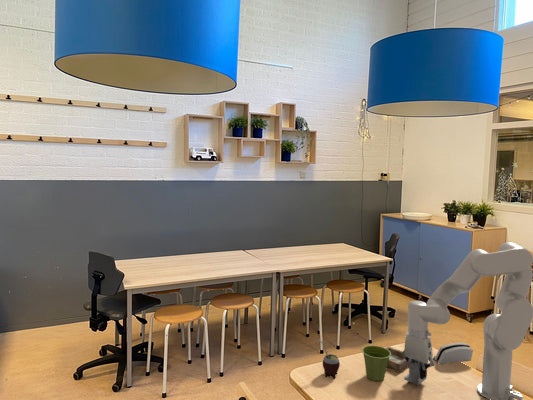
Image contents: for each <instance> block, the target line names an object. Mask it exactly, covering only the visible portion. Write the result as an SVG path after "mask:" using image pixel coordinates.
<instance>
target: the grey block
mask: <svg viewBox="0 0 533 400" xmlns="http://www.w3.org/2000/svg"><path fill="white" fill-rule="evenodd" d="M421 369H422V364H421V362H419V361H416V360H412V361H410V362H409V366H408V374H407V375H405V376H404V378H403V379H404V381H406V382H409V383H412V384H415V385H417V386H419V385H421V384H422V383H423V382H425V381H426V380H427V376H428V375H427V376H426V377H425V378H424V379H421Z"/></svg>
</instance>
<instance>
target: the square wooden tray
mask: <svg viewBox="0 0 533 400" xmlns="http://www.w3.org/2000/svg"><path fill="white" fill-rule="evenodd" d="M385 348H386V349H388V350H389V351H390V352H391V356H390V357H389V360H388V363H387V368H386V369H390V370H392V371H394V372H397V373H401V372H403V371H404V370H406V369H407V368H409V365H408V362H407V361H406V359H405V358H404V357H403V356H402V355H401V353H402V352H403V350H400V349H397V348H394V347H391V346H386V347H385Z"/></svg>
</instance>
